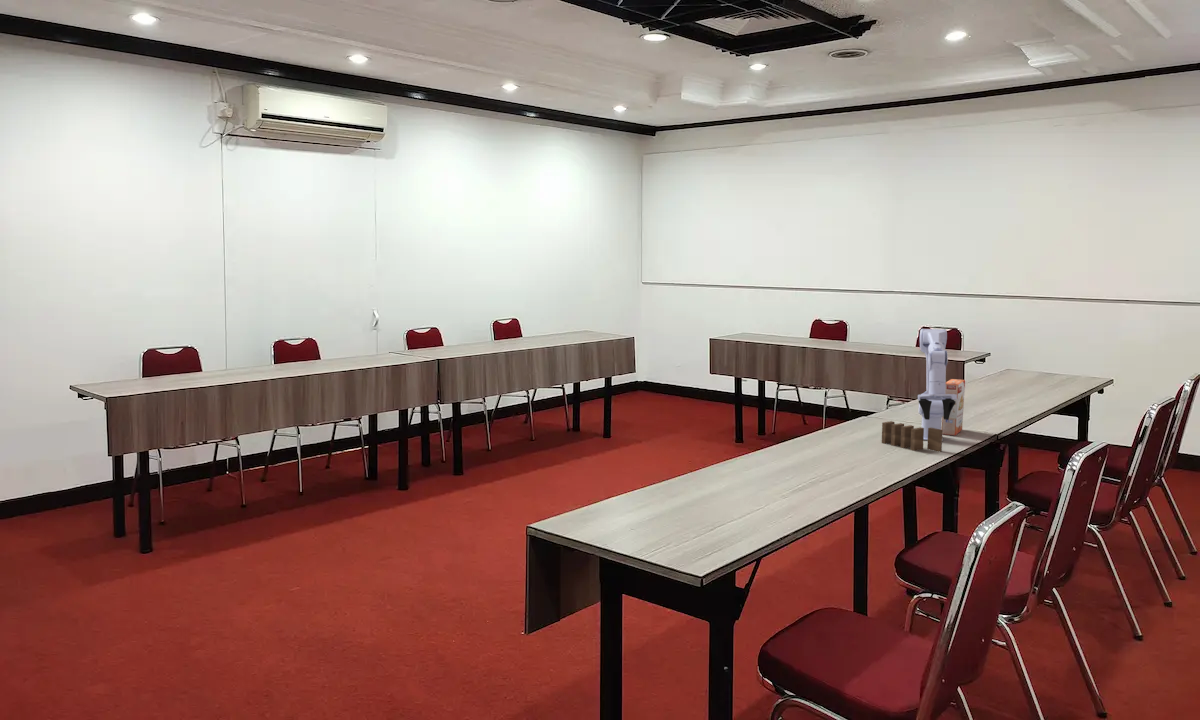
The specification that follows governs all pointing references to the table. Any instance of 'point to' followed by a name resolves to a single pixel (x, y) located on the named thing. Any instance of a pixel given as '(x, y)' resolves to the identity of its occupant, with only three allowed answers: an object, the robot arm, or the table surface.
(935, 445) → the domino
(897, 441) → the domino
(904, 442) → the domino
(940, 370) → the robot arm
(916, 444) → the domino
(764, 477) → the table surface
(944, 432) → the cracker box
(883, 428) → the domino
